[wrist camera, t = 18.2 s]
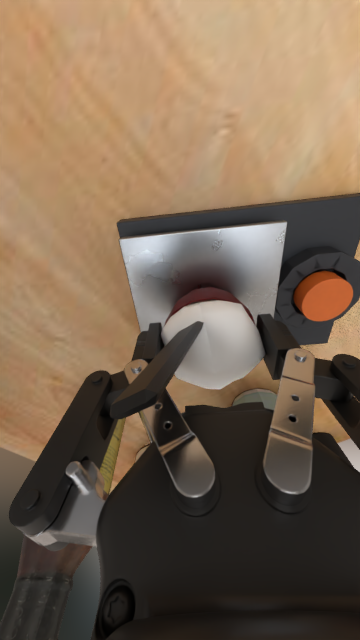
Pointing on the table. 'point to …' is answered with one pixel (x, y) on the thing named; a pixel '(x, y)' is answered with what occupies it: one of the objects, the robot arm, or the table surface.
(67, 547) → the sauce bottle
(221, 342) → the cocoa
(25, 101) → the table surface
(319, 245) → the scale
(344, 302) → the power button
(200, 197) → the table surface
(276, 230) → the weighing plate
